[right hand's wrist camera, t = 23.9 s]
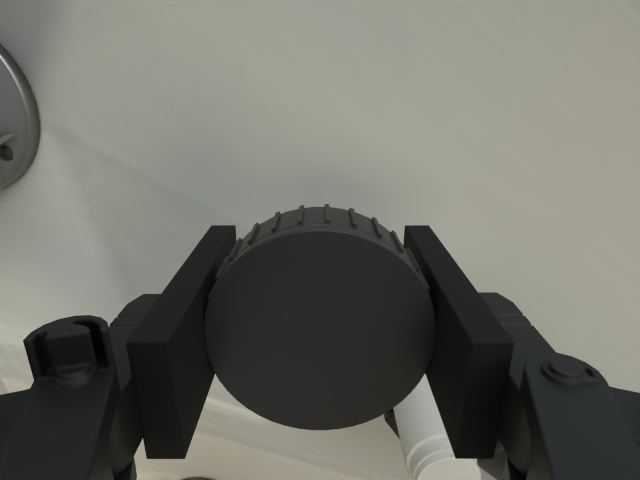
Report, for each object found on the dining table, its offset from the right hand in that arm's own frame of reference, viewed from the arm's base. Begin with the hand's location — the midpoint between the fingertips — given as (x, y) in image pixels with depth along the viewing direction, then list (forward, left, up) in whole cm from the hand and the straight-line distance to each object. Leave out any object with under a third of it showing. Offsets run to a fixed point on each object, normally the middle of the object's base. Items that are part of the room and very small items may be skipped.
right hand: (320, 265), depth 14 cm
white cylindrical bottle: (+3, -19, -26) cm, 33 cm away
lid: (0, 0, +4) cm, 4 cm away
